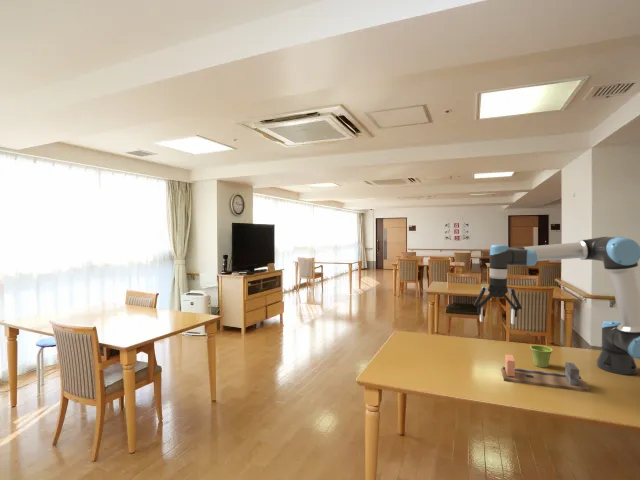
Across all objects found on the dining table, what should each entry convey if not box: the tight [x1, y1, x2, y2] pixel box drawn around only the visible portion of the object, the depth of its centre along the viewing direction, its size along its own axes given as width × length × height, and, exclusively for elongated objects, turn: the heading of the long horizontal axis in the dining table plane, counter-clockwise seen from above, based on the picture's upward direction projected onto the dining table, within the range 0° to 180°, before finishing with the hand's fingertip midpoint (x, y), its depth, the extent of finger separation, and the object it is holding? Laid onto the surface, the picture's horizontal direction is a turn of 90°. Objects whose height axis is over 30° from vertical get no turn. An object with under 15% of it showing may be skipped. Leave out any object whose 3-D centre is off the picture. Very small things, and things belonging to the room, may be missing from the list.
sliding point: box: [504, 354, 516, 377], centre depth 166 cm, size 3×8×7 cm, turn 159°
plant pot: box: [529, 344, 553, 369], centre depth 179 cm, size 9×9×9 cm
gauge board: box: [500, 361, 591, 393], centre depth 161 cm, size 32×12×8 cm, turn 69°
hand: (496, 322), depth 170 cm, fingers open, 13 cm apart
